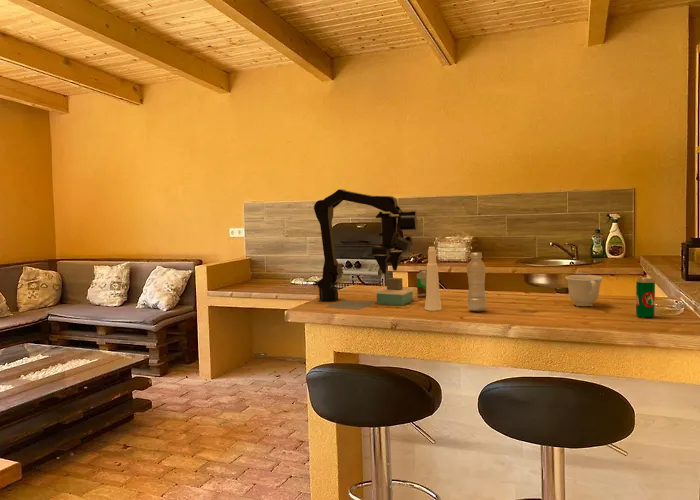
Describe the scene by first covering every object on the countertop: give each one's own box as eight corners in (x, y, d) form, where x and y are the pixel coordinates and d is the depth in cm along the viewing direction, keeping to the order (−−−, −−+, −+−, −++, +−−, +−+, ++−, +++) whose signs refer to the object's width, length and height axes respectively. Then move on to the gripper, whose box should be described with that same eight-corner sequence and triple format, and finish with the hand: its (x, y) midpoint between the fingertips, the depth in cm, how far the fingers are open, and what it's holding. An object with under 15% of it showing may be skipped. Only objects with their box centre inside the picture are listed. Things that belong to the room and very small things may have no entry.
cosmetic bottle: (431, 306, 191) (430, 245, 189) (445, 308, 186) (444, 246, 184) (421, 309, 186) (419, 247, 184) (435, 311, 182) (433, 247, 180)
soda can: (637, 314, 167) (638, 276, 166) (655, 316, 164) (656, 277, 163) (634, 317, 164) (634, 278, 163) (652, 319, 160) (653, 280, 159)
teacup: (576, 311, 175) (576, 281, 174) (559, 302, 190) (559, 275, 189) (613, 310, 175) (613, 280, 174) (593, 302, 190) (594, 274, 189)
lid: (373, 293, 194) (372, 280, 194) (387, 288, 204) (386, 275, 204) (403, 295, 188) (402, 281, 188) (416, 289, 199) (415, 277, 198)
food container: (433, 298, 206) (432, 273, 206) (417, 298, 208) (416, 273, 207) (434, 293, 218) (434, 269, 218) (419, 293, 220) (418, 269, 219)
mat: (325, 309, 192) (325, 307, 192) (344, 302, 204) (344, 300, 204) (359, 312, 185) (359, 309, 185) (377, 305, 197) (377, 302, 197)
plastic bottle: (473, 313, 177) (472, 254, 175) (463, 310, 183) (462, 252, 181) (490, 312, 178) (489, 252, 177) (480, 308, 185) (479, 251, 183)
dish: (377, 306, 195) (376, 292, 194) (388, 301, 204) (388, 288, 203) (402, 308, 190) (401, 294, 190) (412, 303, 199) (412, 290, 198)
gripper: (398, 231, 184) (398, 276, 185) (419, 228, 200) (419, 270, 201) (369, 231, 189) (370, 274, 191) (392, 228, 206) (392, 268, 207)
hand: (389, 272), depth 197 cm, fingers open, 9 cm apart
